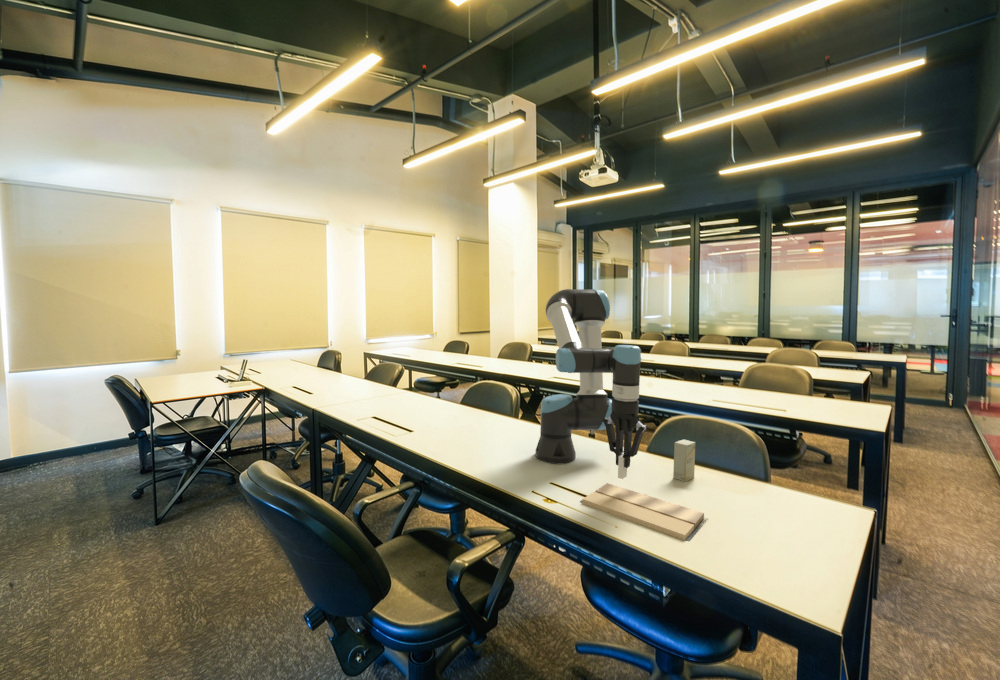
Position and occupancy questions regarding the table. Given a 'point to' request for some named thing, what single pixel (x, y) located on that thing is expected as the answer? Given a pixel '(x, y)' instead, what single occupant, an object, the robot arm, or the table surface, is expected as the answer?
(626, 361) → the robot arm
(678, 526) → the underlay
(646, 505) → the plank
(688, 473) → the skincare box
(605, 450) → the table surface
